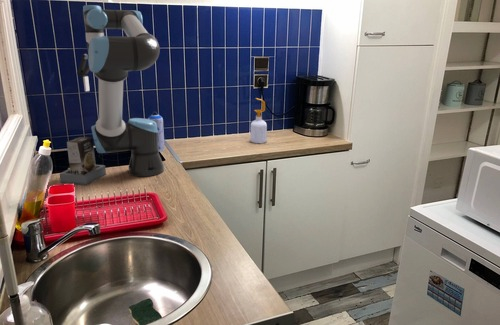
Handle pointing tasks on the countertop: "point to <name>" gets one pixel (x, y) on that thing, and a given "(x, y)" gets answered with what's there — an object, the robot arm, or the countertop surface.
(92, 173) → the pocket tray
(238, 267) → the countertop surface
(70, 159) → the coffee box
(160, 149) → the aerosol can
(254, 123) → the soap bottle
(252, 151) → the countertop surface
